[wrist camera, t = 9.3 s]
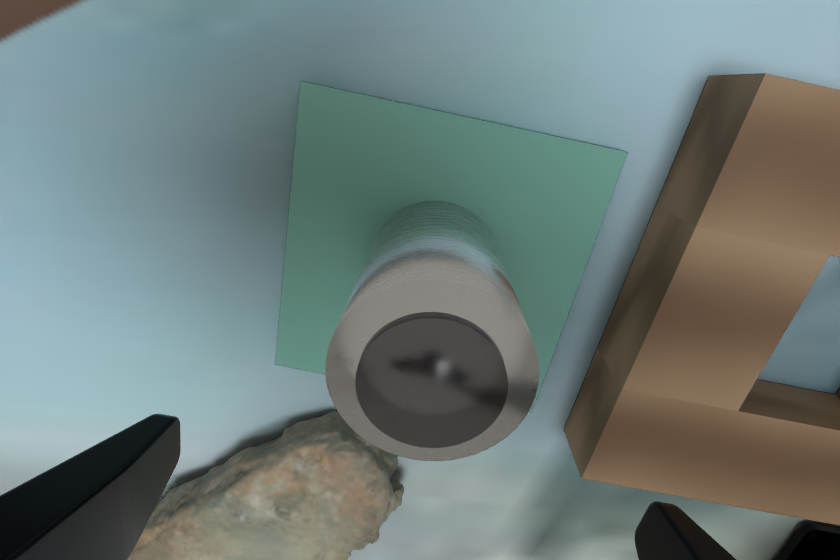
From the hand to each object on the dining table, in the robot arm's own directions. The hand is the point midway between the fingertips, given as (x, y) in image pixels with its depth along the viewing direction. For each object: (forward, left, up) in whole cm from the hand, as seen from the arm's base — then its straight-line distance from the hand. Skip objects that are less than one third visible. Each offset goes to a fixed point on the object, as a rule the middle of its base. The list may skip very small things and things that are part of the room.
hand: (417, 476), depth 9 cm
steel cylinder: (0, 0, -11) cm, 11 cm away
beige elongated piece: (-23, +11, -12) cm, 28 cm away
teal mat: (0, 0, -11) cm, 11 cm away
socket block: (+1, -16, -11) cm, 20 cm away
